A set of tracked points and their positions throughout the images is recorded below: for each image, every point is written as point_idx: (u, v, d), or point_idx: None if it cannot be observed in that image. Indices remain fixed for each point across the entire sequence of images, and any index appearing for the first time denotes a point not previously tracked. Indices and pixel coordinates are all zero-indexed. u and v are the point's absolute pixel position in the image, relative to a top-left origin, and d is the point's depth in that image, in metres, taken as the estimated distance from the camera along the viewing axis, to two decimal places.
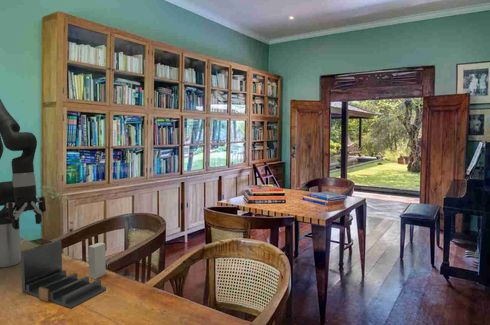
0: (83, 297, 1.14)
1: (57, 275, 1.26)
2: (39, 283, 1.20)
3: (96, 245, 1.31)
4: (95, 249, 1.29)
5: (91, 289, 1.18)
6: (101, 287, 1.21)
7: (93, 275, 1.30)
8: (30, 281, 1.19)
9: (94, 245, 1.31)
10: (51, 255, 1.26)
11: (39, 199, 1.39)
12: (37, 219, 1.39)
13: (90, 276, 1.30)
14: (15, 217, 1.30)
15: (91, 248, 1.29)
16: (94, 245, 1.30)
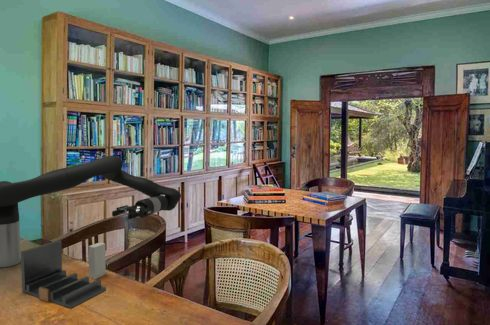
0: (83, 297, 1.14)
1: (57, 275, 1.26)
2: (39, 283, 1.20)
3: (96, 245, 1.31)
4: (95, 249, 1.29)
5: (91, 289, 1.18)
6: (101, 287, 1.21)
7: (93, 275, 1.30)
8: (30, 281, 1.19)
9: (94, 245, 1.31)
10: (51, 255, 1.26)
11: None
12: (116, 213, 1.44)
13: (90, 276, 1.30)
14: (138, 216, 1.43)
15: (91, 248, 1.29)
16: (94, 245, 1.30)
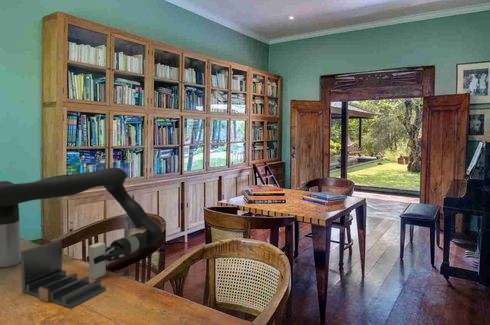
0: (83, 297, 1.14)
1: (57, 275, 1.26)
2: (39, 283, 1.20)
3: (96, 245, 1.31)
4: (95, 248, 1.29)
5: (91, 289, 1.18)
6: (101, 287, 1.21)
7: (93, 275, 1.30)
8: (30, 281, 1.19)
9: (94, 245, 1.31)
10: (51, 255, 1.26)
11: None
12: None
13: (90, 276, 1.30)
14: (105, 260, 1.32)
15: (91, 248, 1.29)
16: (95, 245, 1.30)
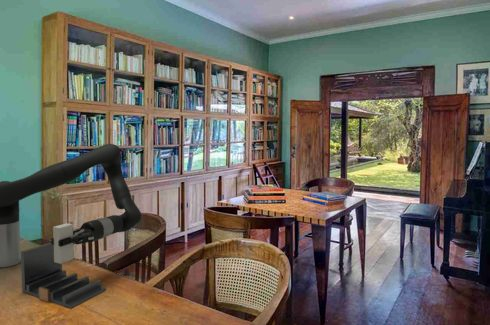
0: (83, 297, 1.14)
1: (57, 275, 1.26)
2: (39, 283, 1.20)
3: (62, 226, 1.17)
4: (60, 229, 1.15)
5: (91, 289, 1.18)
6: (101, 287, 1.21)
7: (58, 259, 1.16)
8: (30, 281, 1.19)
9: (60, 226, 1.17)
10: (51, 255, 1.26)
11: None
12: None
13: (55, 260, 1.17)
14: (73, 243, 1.19)
15: (56, 229, 1.15)
16: (60, 226, 1.17)
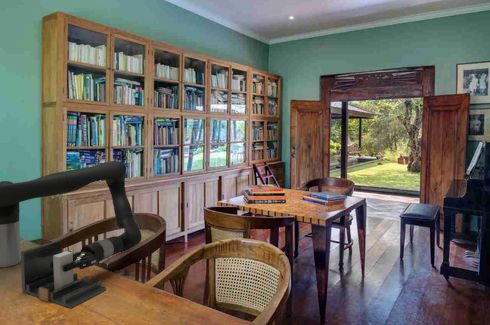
0: (83, 297, 1.14)
1: None
2: (39, 283, 1.20)
3: (62, 254, 1.18)
4: (60, 259, 1.16)
5: (91, 289, 1.18)
6: (101, 287, 1.21)
7: (58, 288, 1.17)
8: (30, 281, 1.19)
9: (60, 254, 1.18)
10: (51, 255, 1.26)
11: None
12: None
13: (55, 289, 1.18)
14: (77, 267, 1.19)
15: (56, 258, 1.16)
16: (60, 255, 1.17)
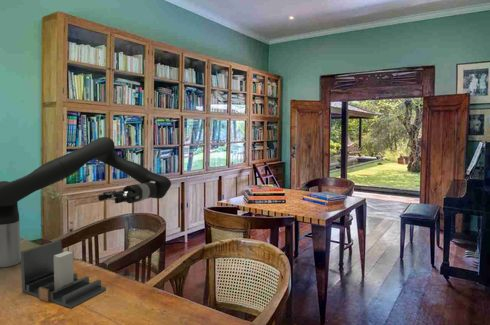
0: (83, 297, 1.14)
1: None
2: (39, 283, 1.20)
3: (62, 254, 1.18)
4: (61, 258, 1.16)
5: (91, 289, 1.18)
6: (101, 287, 1.21)
7: None
8: (30, 281, 1.19)
9: (60, 254, 1.18)
10: (51, 255, 1.26)
11: (115, 195, 1.46)
12: (103, 198, 1.39)
13: (55, 289, 1.18)
14: (125, 201, 1.38)
15: (56, 258, 1.16)
16: (60, 255, 1.17)
